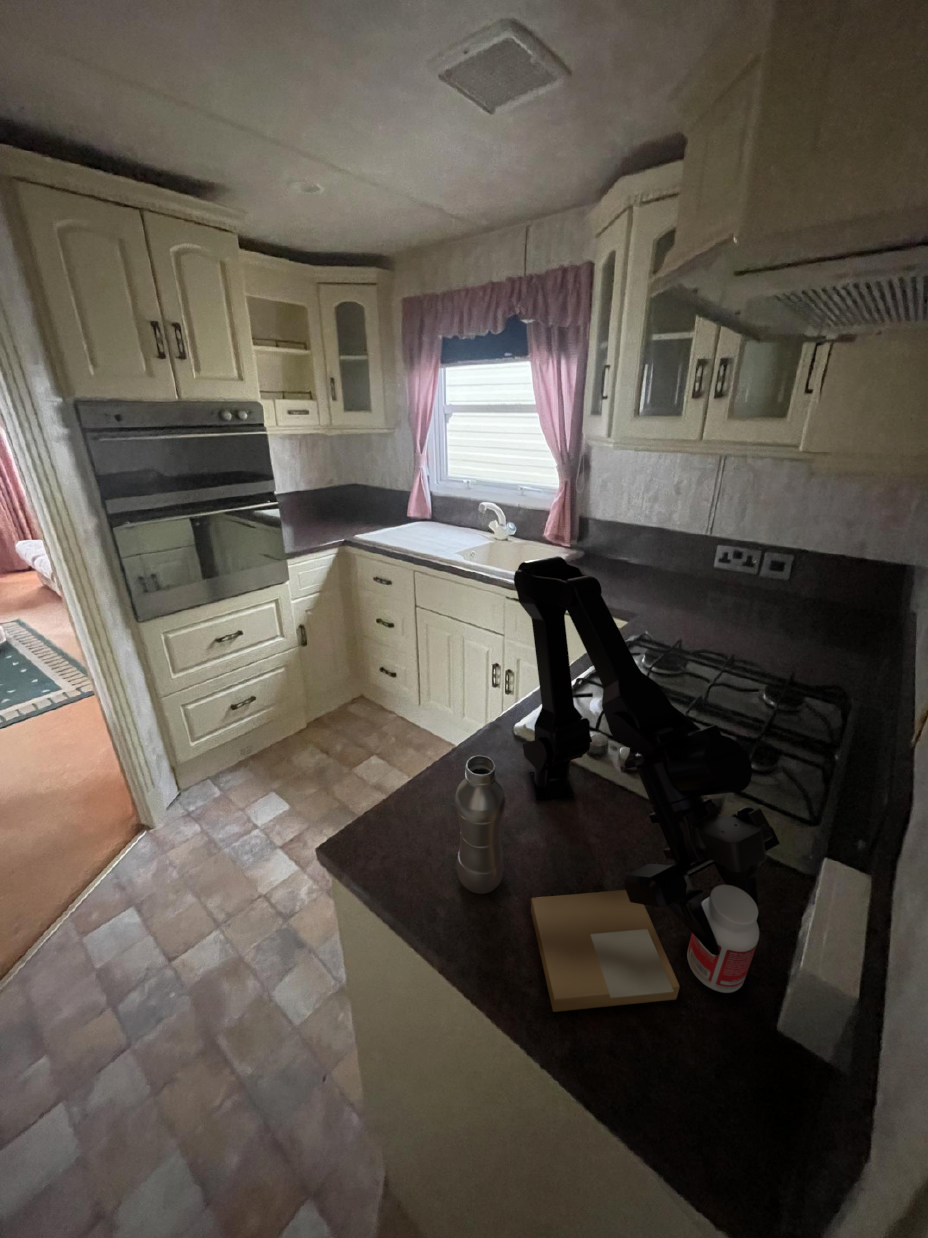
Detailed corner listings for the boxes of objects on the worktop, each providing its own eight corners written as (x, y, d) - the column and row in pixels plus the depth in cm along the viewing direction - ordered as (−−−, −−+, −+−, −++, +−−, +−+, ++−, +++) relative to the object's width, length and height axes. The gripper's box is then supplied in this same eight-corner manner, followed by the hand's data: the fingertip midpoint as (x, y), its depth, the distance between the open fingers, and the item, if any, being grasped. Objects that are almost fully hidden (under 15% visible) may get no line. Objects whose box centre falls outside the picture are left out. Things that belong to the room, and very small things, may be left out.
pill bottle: (746, 959, 61) (769, 895, 56) (739, 1007, 56) (763, 942, 52) (691, 931, 64) (708, 869, 59) (680, 975, 59) (698, 911, 55)
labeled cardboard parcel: (530, 910, 67) (531, 896, 66) (634, 901, 68) (637, 887, 67) (554, 1017, 56) (555, 1003, 54) (678, 1004, 57) (682, 990, 56)
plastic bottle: (468, 908, 67) (467, 791, 59) (449, 868, 73) (445, 755, 64) (512, 890, 69) (517, 775, 61) (490, 852, 75) (491, 742, 67)
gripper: (659, 823, 50) (733, 1003, 46) (784, 766, 57) (858, 915, 53) (598, 826, 60) (654, 974, 55) (712, 776, 67) (769, 903, 63)
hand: (736, 941), depth 56 cm, fingers closed on pill bottle, 6 cm apart
